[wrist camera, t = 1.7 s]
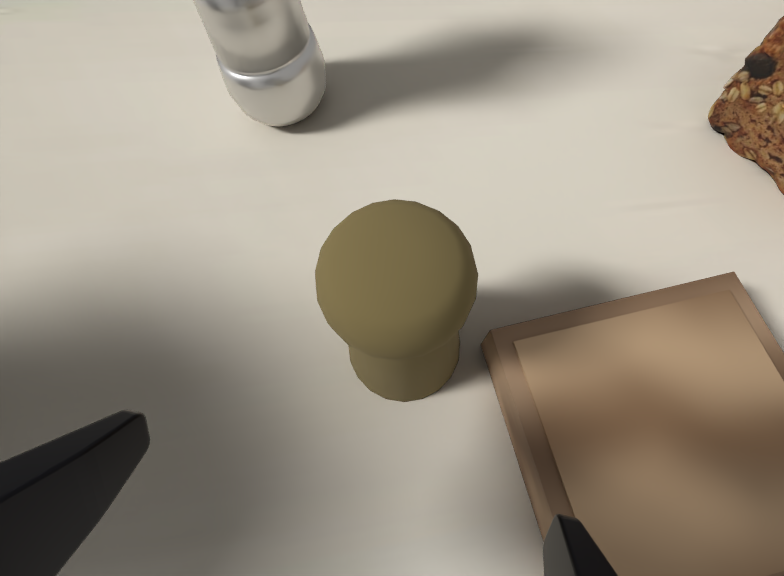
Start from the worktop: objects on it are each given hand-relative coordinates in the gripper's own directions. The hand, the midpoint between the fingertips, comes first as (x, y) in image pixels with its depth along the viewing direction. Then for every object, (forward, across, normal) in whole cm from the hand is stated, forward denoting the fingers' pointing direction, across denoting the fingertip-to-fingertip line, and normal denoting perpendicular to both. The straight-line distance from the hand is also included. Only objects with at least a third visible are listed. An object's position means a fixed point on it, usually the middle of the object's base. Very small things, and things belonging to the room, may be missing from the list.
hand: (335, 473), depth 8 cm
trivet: (+11, -12, +6) cm, 17 cm away
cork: (+13, 0, +5) cm, 13 cm away
